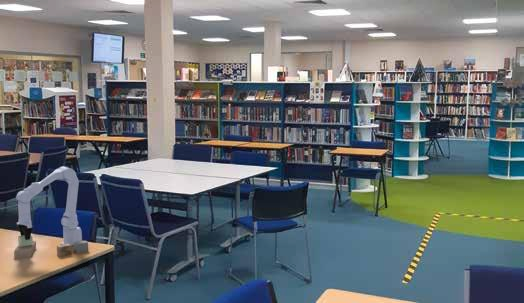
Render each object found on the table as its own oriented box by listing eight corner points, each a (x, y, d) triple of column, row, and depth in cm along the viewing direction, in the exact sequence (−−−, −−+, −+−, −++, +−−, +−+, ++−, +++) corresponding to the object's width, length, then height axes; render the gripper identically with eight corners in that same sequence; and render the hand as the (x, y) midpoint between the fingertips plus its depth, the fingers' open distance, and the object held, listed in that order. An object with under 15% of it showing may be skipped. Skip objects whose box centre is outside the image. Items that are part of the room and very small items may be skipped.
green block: (30, 242, 278) (29, 234, 278) (32, 244, 275) (32, 235, 275) (18, 245, 274) (18, 236, 274) (21, 246, 271) (20, 237, 271)
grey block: (85, 249, 282) (84, 240, 281) (88, 251, 279) (88, 242, 278) (74, 251, 278) (74, 242, 277) (77, 253, 275) (77, 244, 274)
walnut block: (68, 252, 277) (67, 243, 276) (71, 254, 274) (71, 245, 273) (57, 254, 272) (56, 245, 272) (60, 256, 270) (59, 247, 269)
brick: (31, 257, 268) (30, 249, 268) (13, 258, 266) (13, 250, 266) (36, 248, 284) (36, 240, 284) (20, 249, 282) (19, 241, 281)
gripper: (12, 212, 275) (13, 236, 277) (21, 217, 265) (22, 242, 266) (25, 210, 280) (27, 234, 282) (35, 215, 269) (36, 240, 271)
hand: (25, 238), depth 274 cm, fingers open, 6 cm apart
